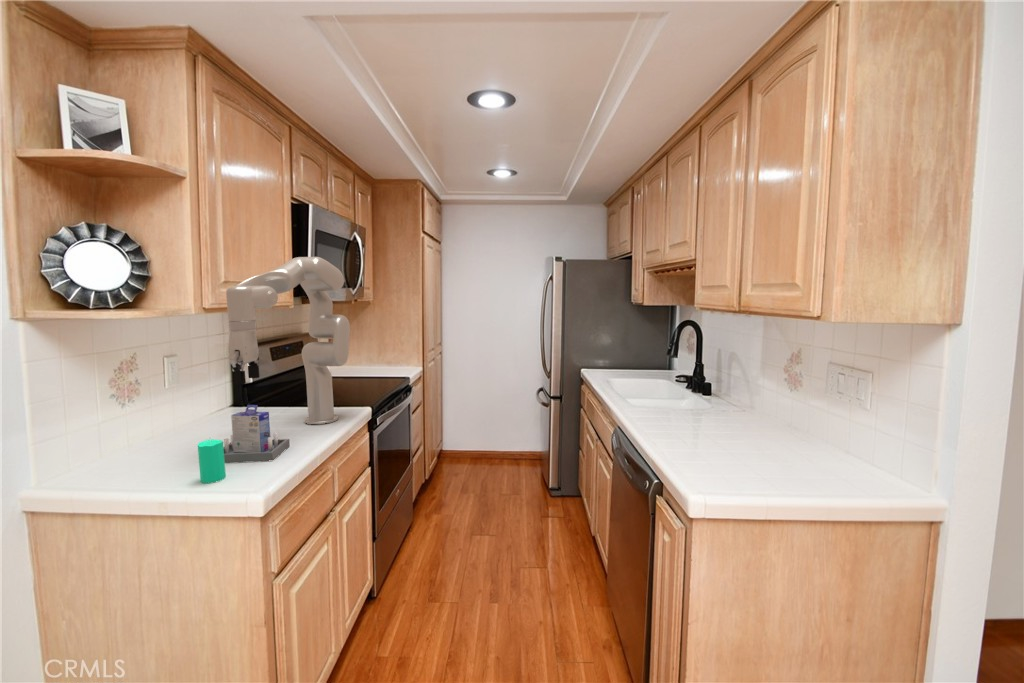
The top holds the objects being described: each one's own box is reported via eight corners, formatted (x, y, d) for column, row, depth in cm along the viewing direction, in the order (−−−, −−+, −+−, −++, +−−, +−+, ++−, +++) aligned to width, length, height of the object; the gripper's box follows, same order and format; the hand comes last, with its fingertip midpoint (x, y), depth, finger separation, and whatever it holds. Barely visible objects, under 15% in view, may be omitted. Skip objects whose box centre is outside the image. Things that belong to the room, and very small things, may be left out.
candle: (199, 478, 138) (196, 436, 136) (224, 473, 141) (221, 432, 140) (201, 485, 133) (198, 441, 132) (227, 479, 136) (223, 437, 135)
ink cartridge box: (272, 448, 160) (269, 404, 158) (261, 453, 154) (258, 408, 153) (244, 447, 161) (241, 403, 159) (232, 452, 155) (229, 407, 154)
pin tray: (233, 448, 163) (232, 431, 163) (289, 446, 165) (288, 428, 164) (211, 463, 149) (209, 444, 149) (272, 461, 151) (271, 442, 150)
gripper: (243, 324, 161) (247, 376, 163) (215, 329, 144) (220, 386, 146) (266, 324, 162) (270, 375, 164) (242, 328, 144) (247, 386, 146)
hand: (247, 380), depth 155 cm, fingers open, 9 cm apart
